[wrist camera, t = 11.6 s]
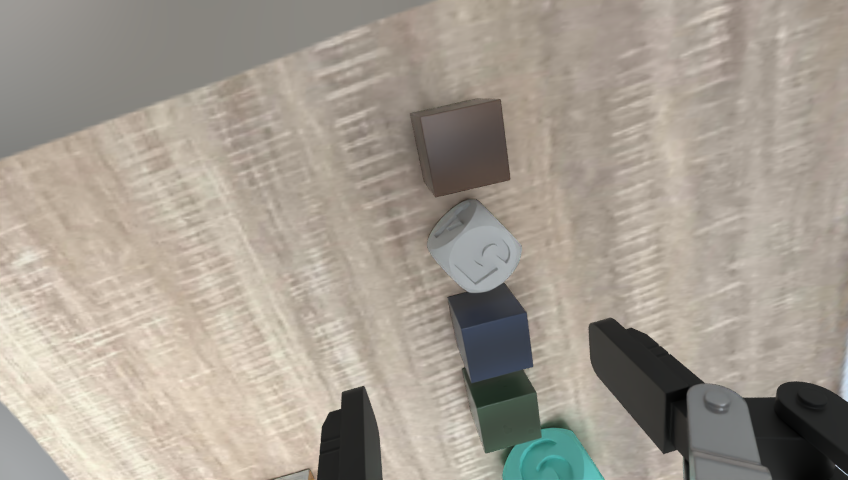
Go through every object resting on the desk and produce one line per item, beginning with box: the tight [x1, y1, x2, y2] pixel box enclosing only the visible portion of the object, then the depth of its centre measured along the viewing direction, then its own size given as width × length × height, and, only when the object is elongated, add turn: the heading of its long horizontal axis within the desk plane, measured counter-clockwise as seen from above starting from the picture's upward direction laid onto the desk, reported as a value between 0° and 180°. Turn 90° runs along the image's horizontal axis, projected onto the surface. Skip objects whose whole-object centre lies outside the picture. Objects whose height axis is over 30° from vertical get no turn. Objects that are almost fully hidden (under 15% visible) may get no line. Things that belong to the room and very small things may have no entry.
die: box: [427, 199, 522, 293], centre depth 30 cm, size 5×5×5 cm
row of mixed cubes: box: [410, 99, 542, 453], centre depth 31 cm, size 28×5×5 cm, turn 12°
